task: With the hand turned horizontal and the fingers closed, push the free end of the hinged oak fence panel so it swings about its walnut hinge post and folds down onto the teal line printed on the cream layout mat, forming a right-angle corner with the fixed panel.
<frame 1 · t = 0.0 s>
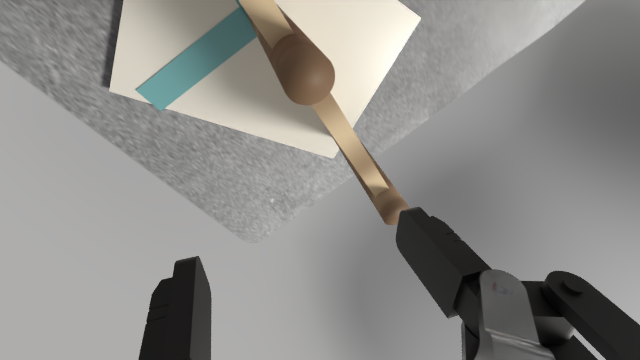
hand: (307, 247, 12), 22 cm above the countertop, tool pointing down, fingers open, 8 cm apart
fixed panel: (262, 12, 25), resting on layout mat
swing panel: (337, 125, 26), point 8 cm above the countertop, hinge at 0.0°
layout mat: (275, 50, 28), on the countertop
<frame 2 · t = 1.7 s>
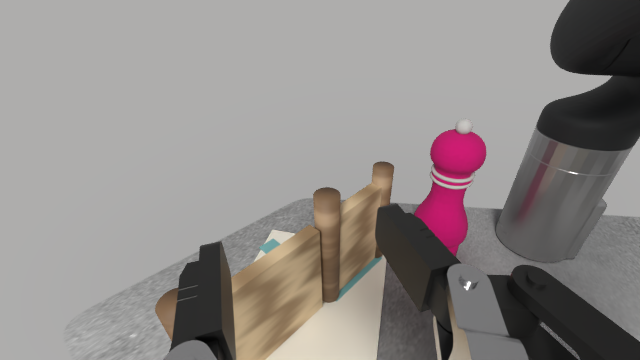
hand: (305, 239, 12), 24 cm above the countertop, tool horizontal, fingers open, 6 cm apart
pepper mill: (433, 248, 44), on the countertop
fixed panel: (328, 293, 36), resting on layout mat
swing panel: (261, 306, 27), point 8 cm above the countertop, hinge at 0.0°
layout mat: (303, 311, 36), on the countertop
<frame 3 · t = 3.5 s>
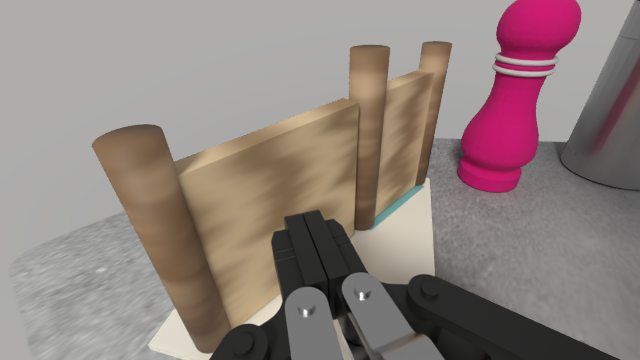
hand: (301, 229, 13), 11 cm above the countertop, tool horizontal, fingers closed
pepper mill: (485, 179, 35), on the countertop
fixed panel: (360, 220, 28), resting on layout mat
swing panel: (274, 206, 19), point 8 cm above the countertop, hinge at 0.0°
layout mat: (328, 243, 27), on the countertop
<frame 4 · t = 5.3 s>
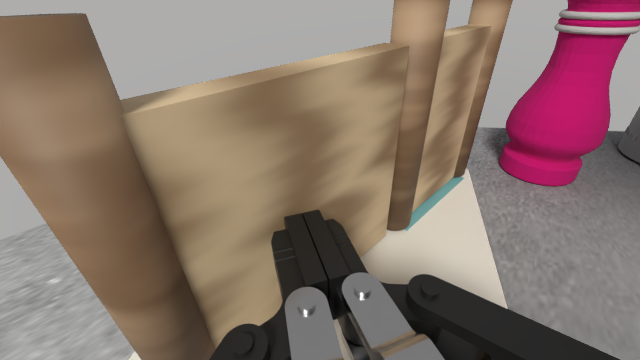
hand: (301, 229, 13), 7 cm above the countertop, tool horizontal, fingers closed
pepper mill: (534, 171, 29), on the countertop
fixed panel: (391, 218, 22), resting on layout mat
swing panel: (289, 192, 13), point 8 cm above the countertop, hinge at 0.0°, touching gripper
layout mat: (351, 246, 21), on the countertop
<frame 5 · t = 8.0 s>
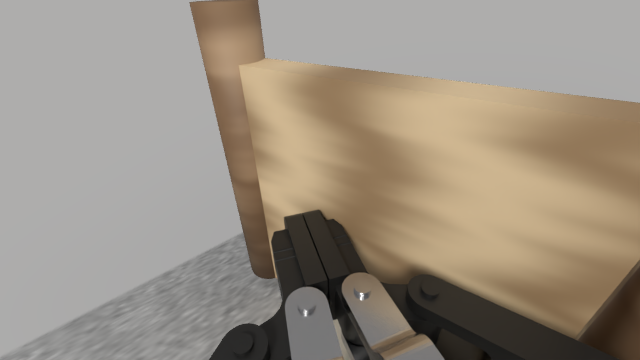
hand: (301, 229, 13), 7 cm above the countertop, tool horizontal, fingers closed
swing panel: (363, 206, 12), point 8 cm above the countertop, hinge at 77.6°, touching gripper
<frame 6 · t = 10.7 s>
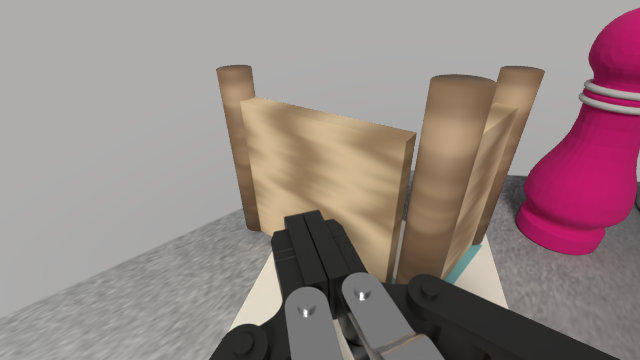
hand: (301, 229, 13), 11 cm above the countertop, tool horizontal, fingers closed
pepper mill: (552, 233, 28), on the countertop
fixed panel: (411, 303, 20), resting on layout mat
swing panel: (305, 178, 21), point 8 cm above the countertop, hinge at 81.2°
layout mat: (369, 337, 19), on the countertop
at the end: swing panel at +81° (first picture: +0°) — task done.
